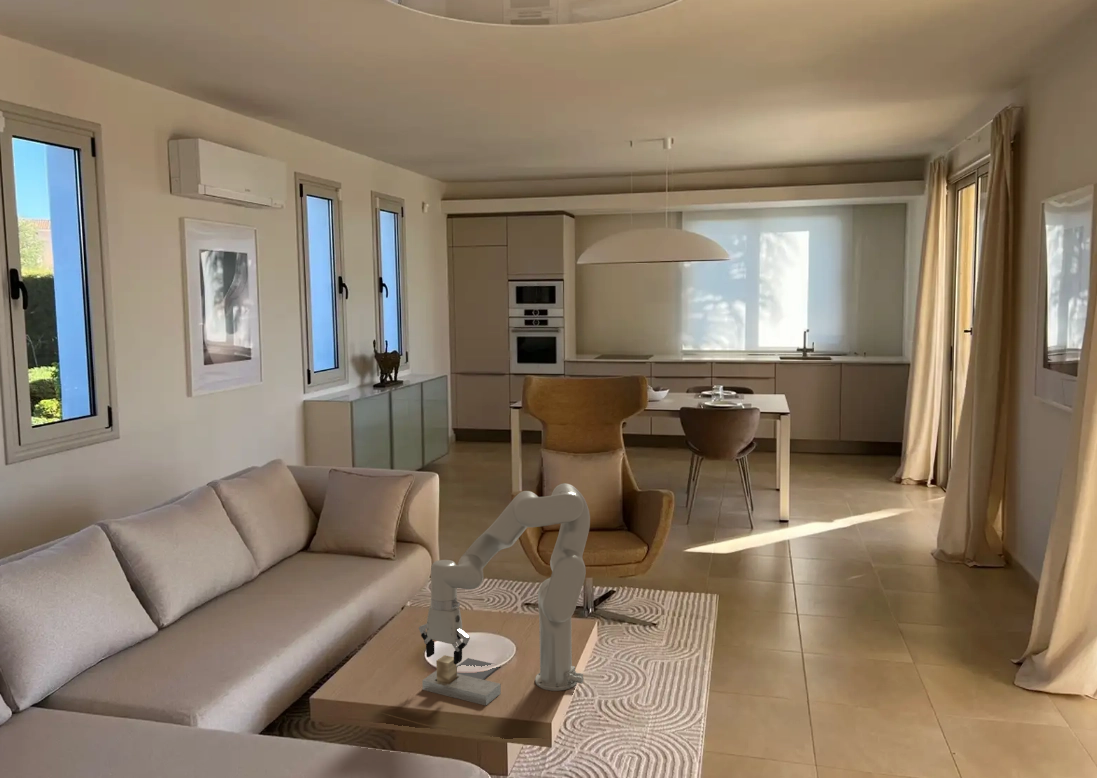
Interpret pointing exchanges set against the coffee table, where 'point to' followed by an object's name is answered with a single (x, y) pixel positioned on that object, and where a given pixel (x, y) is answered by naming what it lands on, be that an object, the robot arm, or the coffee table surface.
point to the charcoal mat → (478, 663)
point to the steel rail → (464, 688)
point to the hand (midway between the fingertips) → (443, 659)
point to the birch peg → (446, 669)
